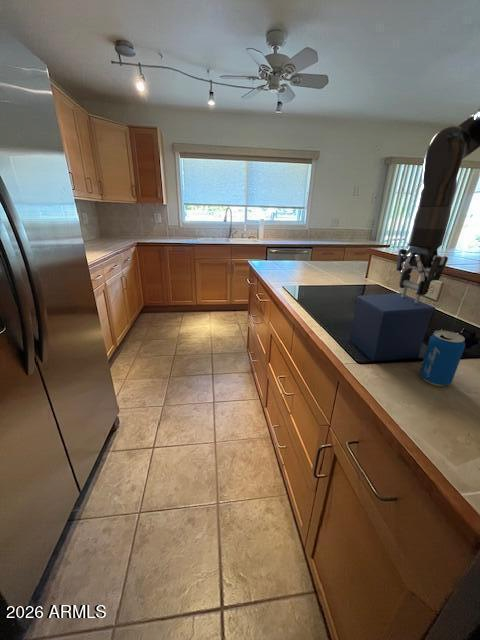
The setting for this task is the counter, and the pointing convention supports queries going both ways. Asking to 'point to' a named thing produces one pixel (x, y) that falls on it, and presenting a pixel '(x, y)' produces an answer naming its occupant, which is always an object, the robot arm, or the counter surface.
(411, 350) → the box
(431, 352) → the beverage can
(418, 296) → the lid
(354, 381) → the counter surface
